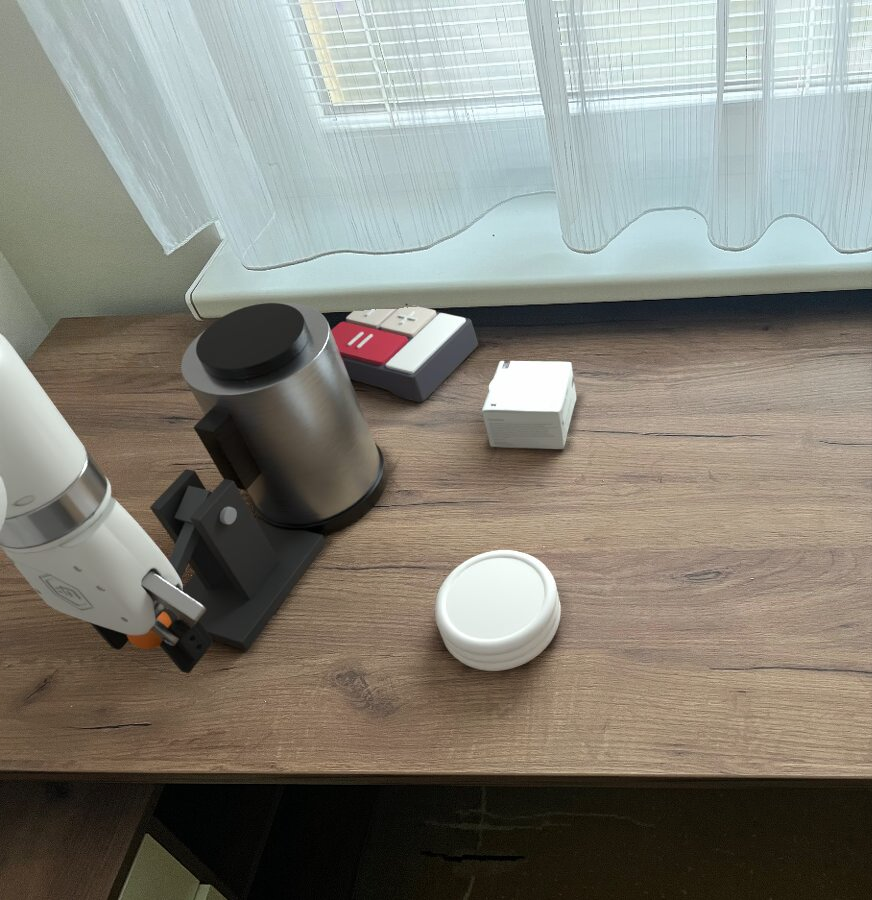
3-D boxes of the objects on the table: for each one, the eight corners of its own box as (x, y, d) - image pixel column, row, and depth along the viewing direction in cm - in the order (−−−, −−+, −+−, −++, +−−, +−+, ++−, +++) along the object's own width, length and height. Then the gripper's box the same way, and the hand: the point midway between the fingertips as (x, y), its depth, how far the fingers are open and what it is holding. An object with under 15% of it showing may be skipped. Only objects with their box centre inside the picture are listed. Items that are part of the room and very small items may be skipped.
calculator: (369, 291, 103) (471, 313, 97) (381, 321, 106) (480, 344, 100) (306, 344, 97) (410, 372, 90) (320, 375, 100) (422, 403, 93)
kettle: (331, 567, 79) (252, 412, 65) (216, 535, 83) (121, 384, 70) (411, 454, 88) (357, 300, 75) (305, 431, 92) (236, 281, 79)
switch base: (247, 650, 73) (186, 563, 65) (164, 624, 76) (95, 537, 68) (326, 543, 81) (281, 453, 72) (248, 522, 84) (196, 433, 75)
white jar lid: (477, 560, 77) (469, 535, 75) (580, 589, 74) (575, 563, 72) (420, 653, 71) (409, 629, 69) (530, 689, 68) (523, 664, 65)
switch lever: (170, 656, 69) (141, 650, 66) (139, 645, 70) (109, 639, 67) (235, 502, 73) (211, 490, 70) (205, 494, 74) (180, 482, 71)
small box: (565, 451, 86) (558, 412, 83) (489, 448, 88) (479, 410, 84) (578, 398, 92) (572, 360, 88) (506, 396, 93) (497, 359, 89)
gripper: (-96, 509, 58) (49, 656, 71) (99, 569, 53) (219, 716, 65) (-6, 434, 63) (115, 584, 75) (181, 481, 57) (278, 634, 70)
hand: (162, 644), depth 70 cm, fingers open, 6 cm apart
